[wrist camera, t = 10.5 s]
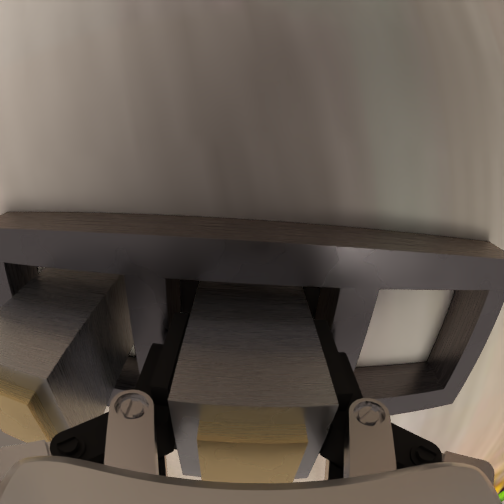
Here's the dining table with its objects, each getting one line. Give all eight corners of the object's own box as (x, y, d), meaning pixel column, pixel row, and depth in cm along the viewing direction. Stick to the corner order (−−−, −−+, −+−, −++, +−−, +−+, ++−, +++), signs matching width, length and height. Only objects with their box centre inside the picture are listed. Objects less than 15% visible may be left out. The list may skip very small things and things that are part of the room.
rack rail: (44, 358, 15) (26, 384, 13) (7, 211, 12) (-24, 227, 9) (436, 377, 16) (452, 403, 14) (489, 241, 13) (518, 260, 10)
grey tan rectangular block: (51, 262, 13) (-50, 358, 6) (124, 269, 13) (36, 394, 6) (67, 331, 14) (-2, 436, 7) (134, 342, 14) (81, 469, 7)
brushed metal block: (202, 271, 13) (163, 419, 6) (298, 276, 13) (344, 423, 6) (203, 346, 14) (180, 489, 7) (287, 350, 15) (309, 492, 8)
